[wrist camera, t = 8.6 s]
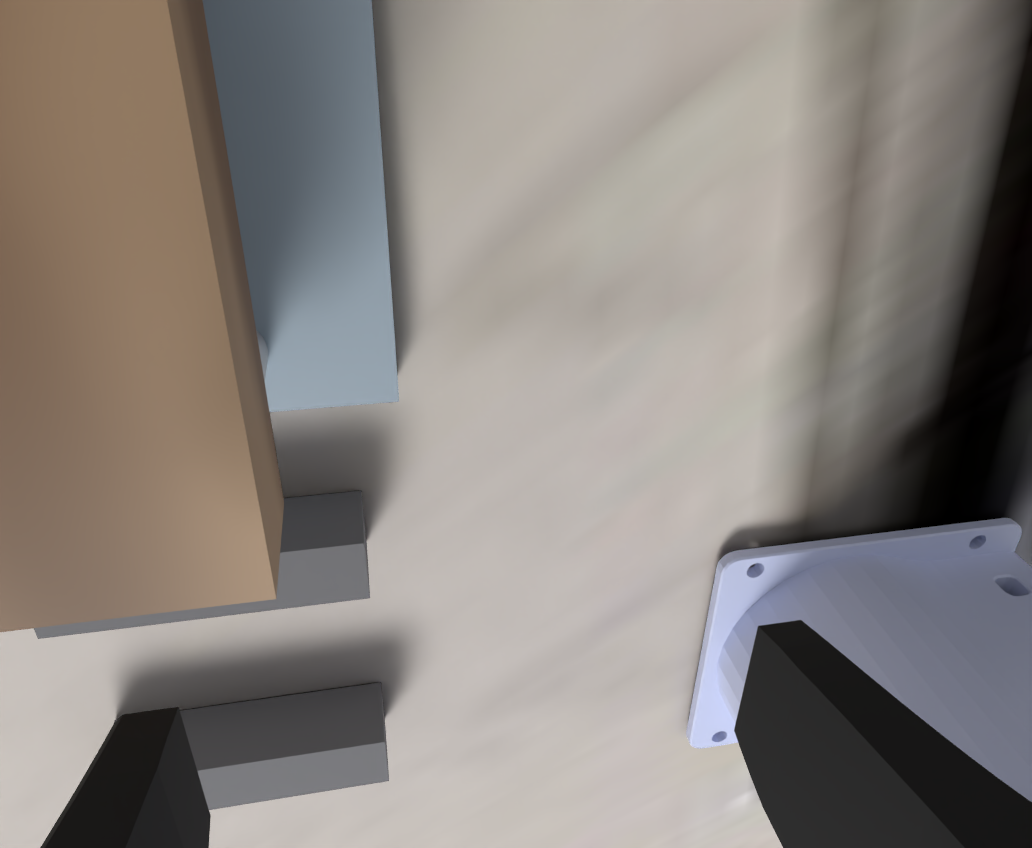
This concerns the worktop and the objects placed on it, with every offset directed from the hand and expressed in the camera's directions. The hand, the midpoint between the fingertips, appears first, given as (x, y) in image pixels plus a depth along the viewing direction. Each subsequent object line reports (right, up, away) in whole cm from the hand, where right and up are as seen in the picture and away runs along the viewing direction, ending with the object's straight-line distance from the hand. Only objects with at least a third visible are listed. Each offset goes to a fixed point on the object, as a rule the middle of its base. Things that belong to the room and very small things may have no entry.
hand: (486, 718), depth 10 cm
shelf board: (-6, +6, +1) cm, 9 cm away
